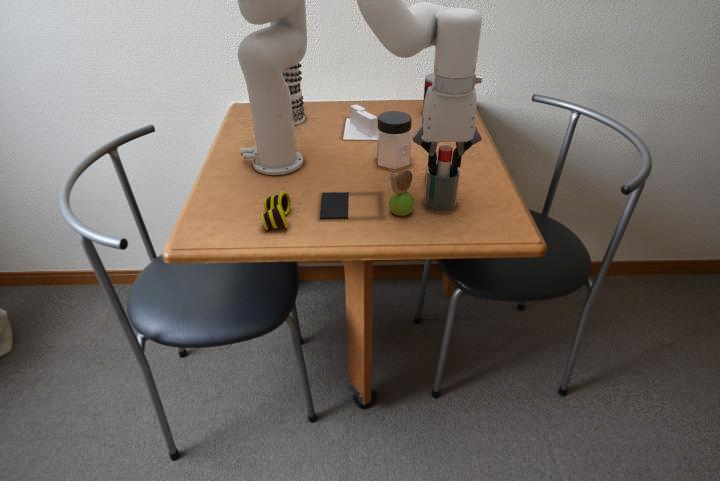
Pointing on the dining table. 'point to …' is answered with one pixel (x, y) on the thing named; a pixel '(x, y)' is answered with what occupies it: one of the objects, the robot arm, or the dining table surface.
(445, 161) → the marker
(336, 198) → the mat
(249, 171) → the dining table surface
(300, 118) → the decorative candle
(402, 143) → the jar
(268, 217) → the opera glasses
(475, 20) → the robot arm
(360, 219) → the dining table surface
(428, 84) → the canned food
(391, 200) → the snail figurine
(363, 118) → the napkin holder
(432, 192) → the pen cup
